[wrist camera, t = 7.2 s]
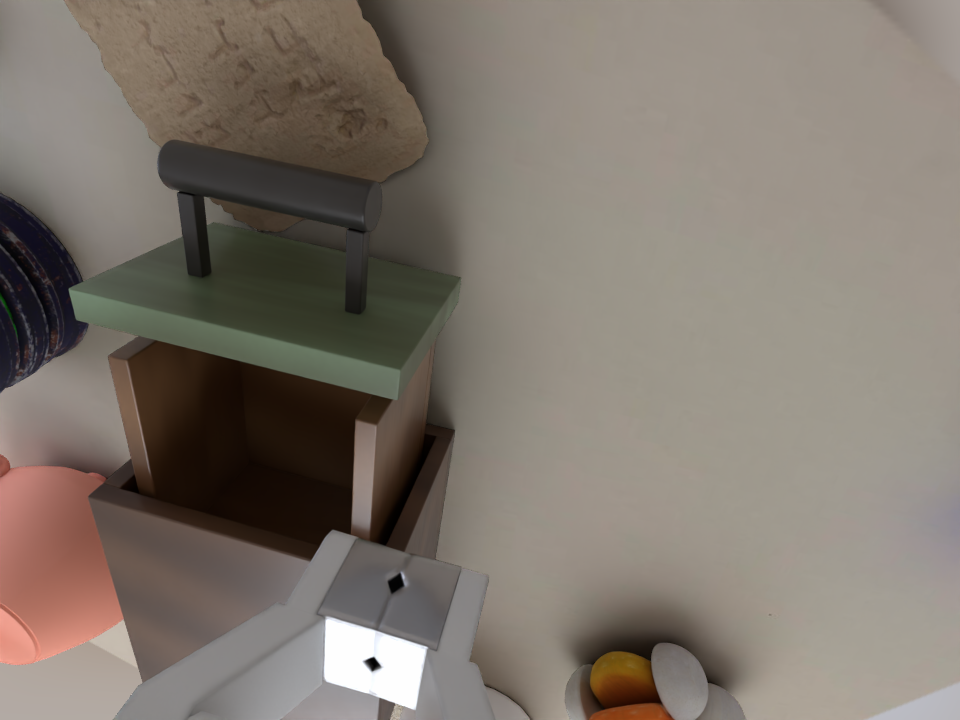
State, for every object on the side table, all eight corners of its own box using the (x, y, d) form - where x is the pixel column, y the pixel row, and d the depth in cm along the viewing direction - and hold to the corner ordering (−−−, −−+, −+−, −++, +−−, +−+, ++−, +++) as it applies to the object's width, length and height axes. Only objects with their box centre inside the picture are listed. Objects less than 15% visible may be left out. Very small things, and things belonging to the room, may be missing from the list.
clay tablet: (36, -107, 21) (-36, -125, 19) (227, -317, 17) (166, -372, 15) (264, 243, 26) (230, 263, 24) (451, 144, 22) (432, 156, 20)
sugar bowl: (96, 585, 44) (-33, 719, 35) (-35, 443, 39) (-226, 561, 30) (212, 567, 40) (97, 717, 31) (82, 405, 34) (-101, 530, 25)
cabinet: (229, 373, 30) (86, 496, 22) (455, 430, 29) (391, 583, 21) (247, 554, 38) (145, 696, 30) (427, 606, 37) (372, 770, 28)
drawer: (201, 110, 23) (29, 140, 16) (477, 165, 21) (413, 222, 15) (236, 453, 32) (136, 562, 25) (430, 505, 31) (378, 634, 24)
